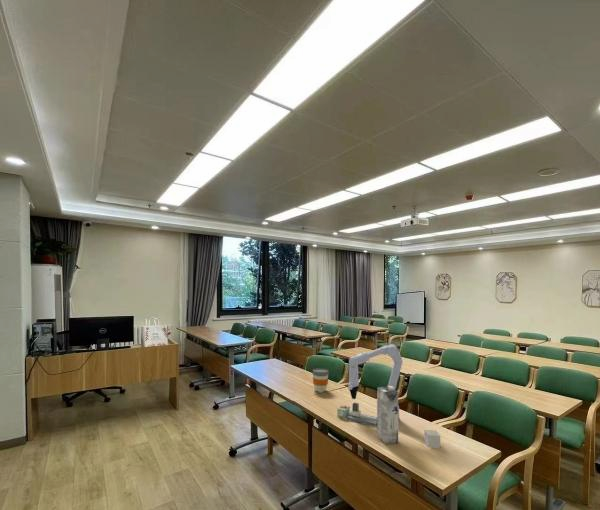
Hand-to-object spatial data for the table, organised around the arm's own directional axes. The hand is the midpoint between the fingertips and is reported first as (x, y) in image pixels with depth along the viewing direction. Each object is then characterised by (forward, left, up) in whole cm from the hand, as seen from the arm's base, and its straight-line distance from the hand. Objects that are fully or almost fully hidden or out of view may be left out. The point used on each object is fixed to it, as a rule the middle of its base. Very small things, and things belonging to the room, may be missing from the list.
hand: (353, 398), depth 201 cm
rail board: (-8, +5, -10) cm, 13 cm away
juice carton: (-27, +23, -10) cm, 37 cm away
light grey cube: (-48, +16, -10) cm, 51 cm away
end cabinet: (+5, +5, -10) cm, 12 cm away
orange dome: (+5, +5, -6) cm, 9 cm away
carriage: (-3, +5, -8) cm, 10 cm away
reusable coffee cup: (+38, -32, -10) cm, 51 cm away
